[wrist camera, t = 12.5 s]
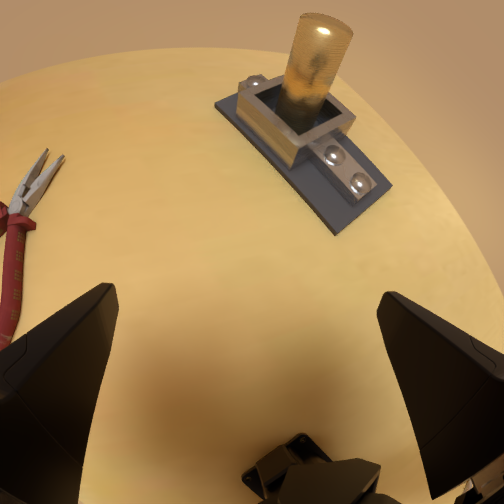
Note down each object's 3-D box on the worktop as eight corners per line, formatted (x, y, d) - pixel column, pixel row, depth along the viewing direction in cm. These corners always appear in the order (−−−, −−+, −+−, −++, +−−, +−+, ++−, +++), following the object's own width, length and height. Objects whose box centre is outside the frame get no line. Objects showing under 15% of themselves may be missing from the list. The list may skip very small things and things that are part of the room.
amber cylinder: (317, 138, 27) (363, 40, 16) (281, 144, 27) (316, 37, 15) (300, 110, 28) (335, 14, 16) (266, 115, 28) (290, 11, 16)
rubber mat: (390, 188, 27) (392, 185, 27) (334, 235, 25) (337, 233, 24) (277, 79, 30) (278, 76, 30) (214, 106, 28) (214, 102, 27)
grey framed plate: (383, 180, 27) (400, 162, 24) (333, 221, 25) (349, 204, 21) (275, 77, 30) (280, 55, 26) (218, 101, 28) (219, 76, 24)
